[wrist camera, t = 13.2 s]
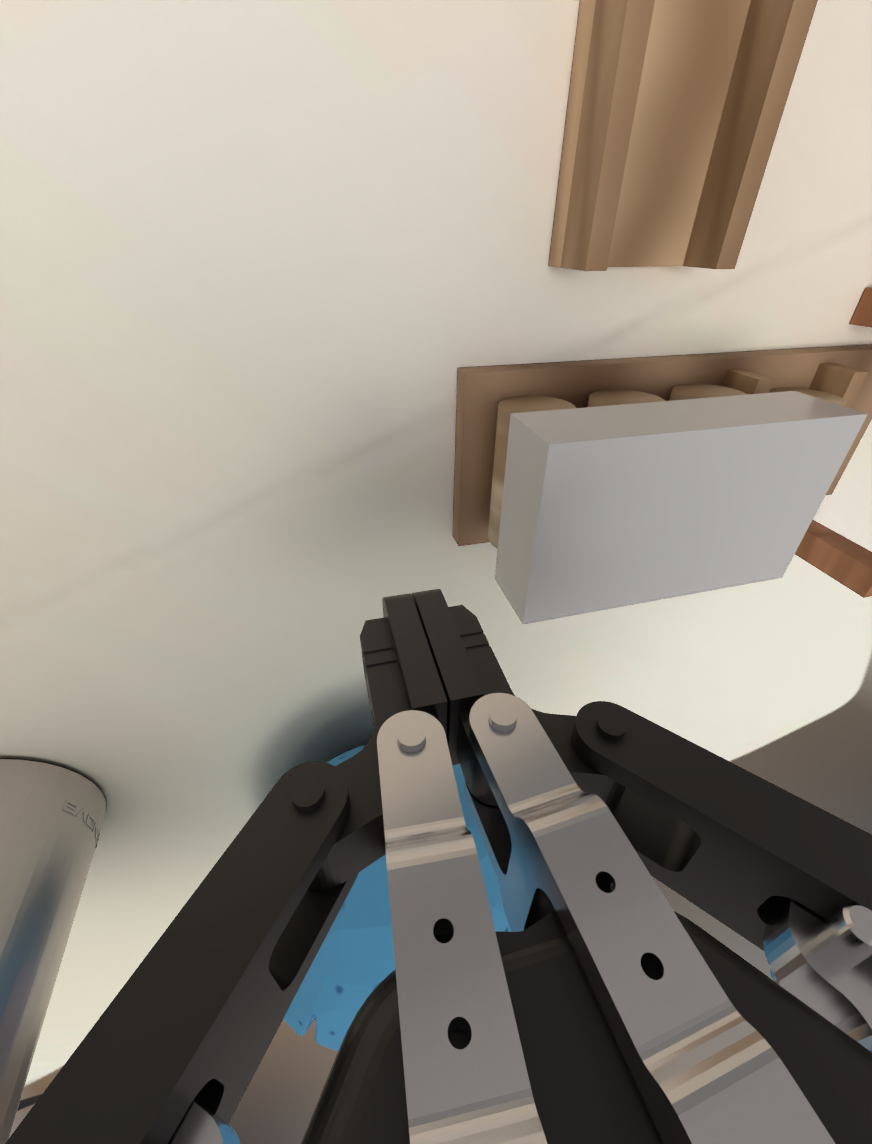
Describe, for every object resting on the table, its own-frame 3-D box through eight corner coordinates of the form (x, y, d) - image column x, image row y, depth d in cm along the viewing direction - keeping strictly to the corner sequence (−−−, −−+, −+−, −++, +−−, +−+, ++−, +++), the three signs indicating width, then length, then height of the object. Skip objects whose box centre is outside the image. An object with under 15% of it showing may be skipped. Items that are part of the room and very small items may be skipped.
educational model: (265, 863, 37) (259, 1158, 25) (238, 698, 27) (206, 1067, 15) (457, 824, 42) (527, 1060, 30) (497, 668, 31) (630, 937, 19)
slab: (494, 578, 20) (522, 624, 18) (510, 413, 16) (549, 444, 14) (730, 541, 23) (782, 577, 21) (794, 390, 19) (867, 413, 17)
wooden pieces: (451, 575, 26) (498, 670, 20) (469, -28, 14) (599, -202, 8) (798, 523, 31) (911, 588, 25) (1041, 44, 18) (1366, -35, 13)
